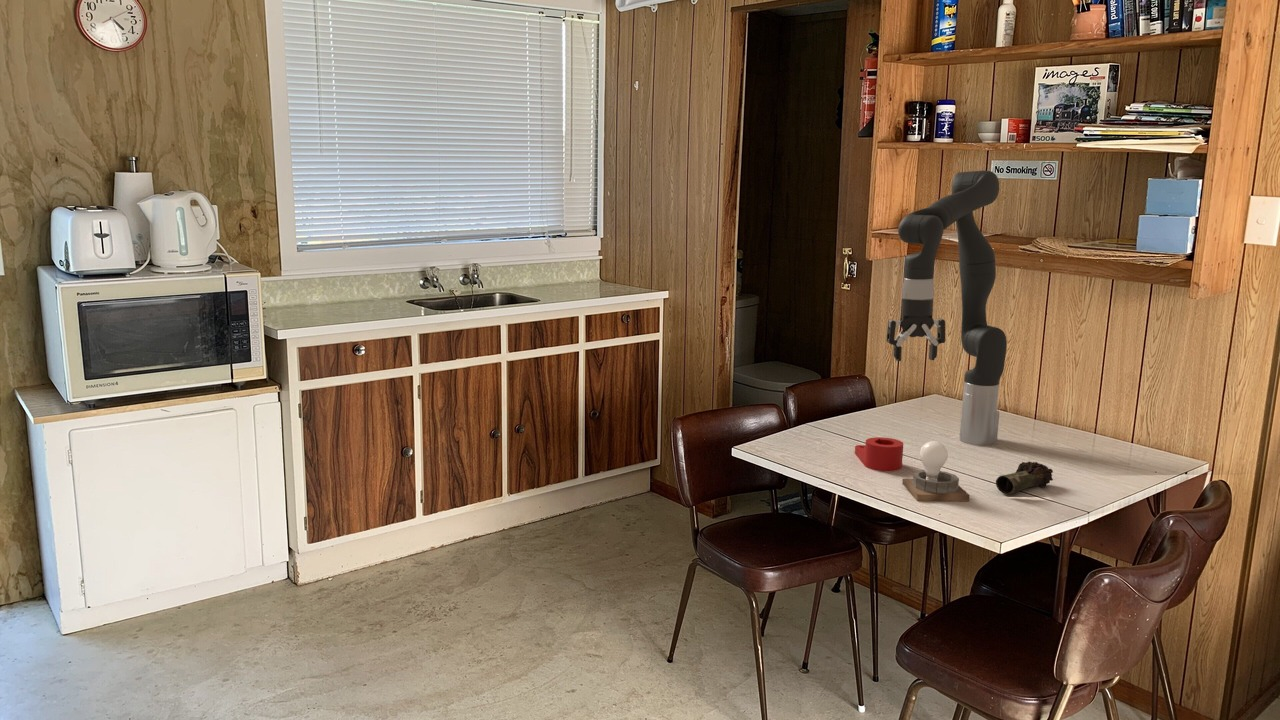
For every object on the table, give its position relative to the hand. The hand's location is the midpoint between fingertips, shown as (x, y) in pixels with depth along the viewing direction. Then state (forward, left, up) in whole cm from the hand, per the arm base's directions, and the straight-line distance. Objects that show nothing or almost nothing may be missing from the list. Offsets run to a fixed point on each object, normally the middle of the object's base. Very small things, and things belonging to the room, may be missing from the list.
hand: (914, 360), depth 243 cm
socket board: (-1, +20, -28) cm, 35 cm away
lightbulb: (0, +20, -27) cm, 33 cm away
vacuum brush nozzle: (-19, +21, -31) cm, 41 cm away
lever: (+7, -5, -29) cm, 30 cm away
